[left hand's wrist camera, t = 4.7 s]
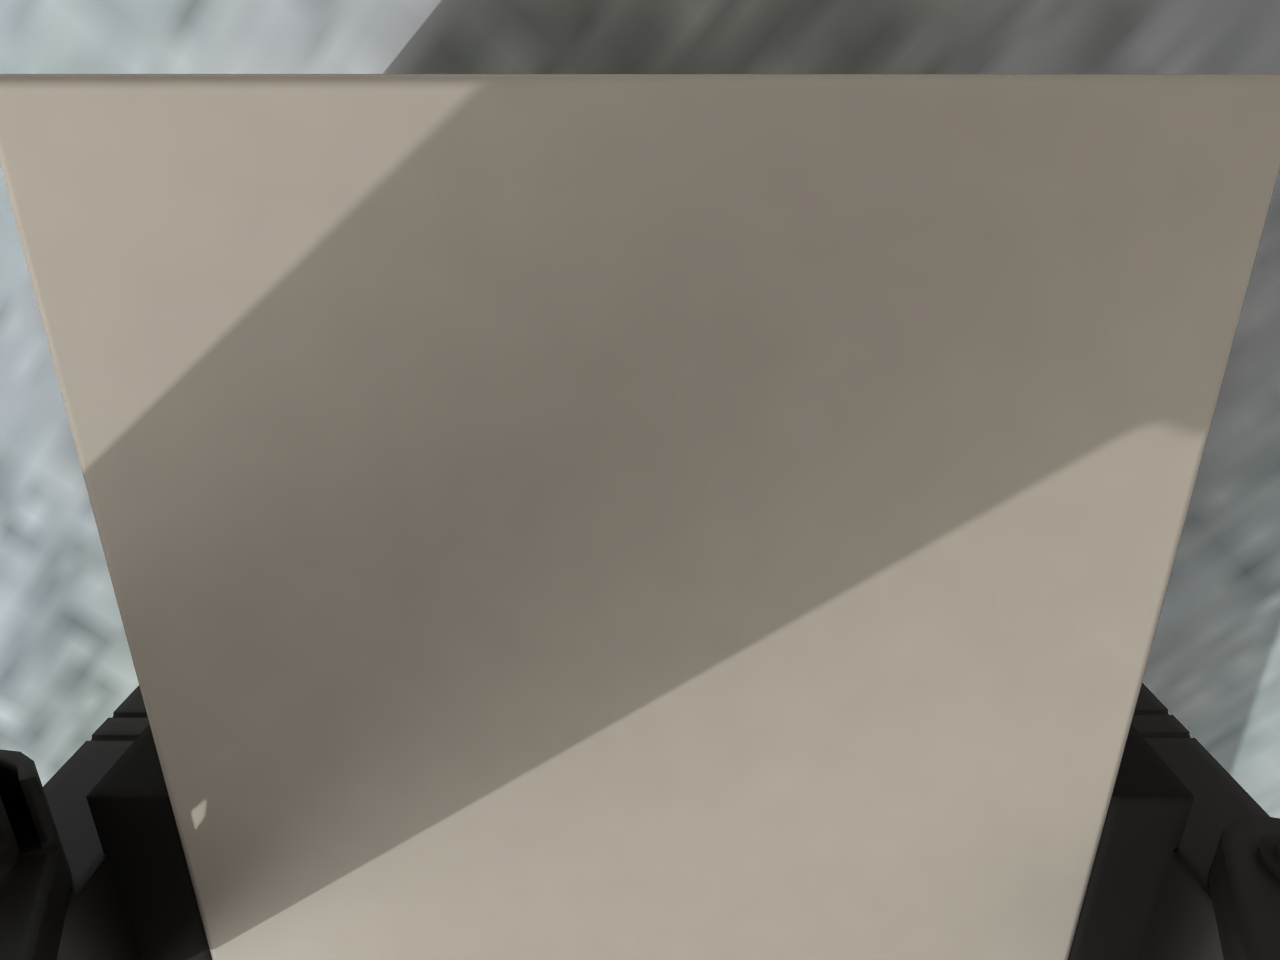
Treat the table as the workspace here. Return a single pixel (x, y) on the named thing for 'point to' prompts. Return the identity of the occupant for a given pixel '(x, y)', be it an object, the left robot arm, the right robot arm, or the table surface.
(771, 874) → the wide beam
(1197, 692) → the table surface
